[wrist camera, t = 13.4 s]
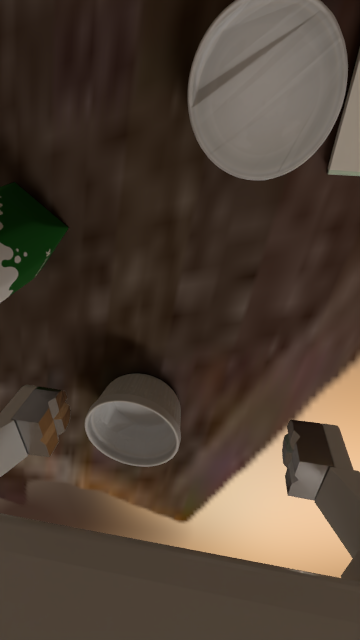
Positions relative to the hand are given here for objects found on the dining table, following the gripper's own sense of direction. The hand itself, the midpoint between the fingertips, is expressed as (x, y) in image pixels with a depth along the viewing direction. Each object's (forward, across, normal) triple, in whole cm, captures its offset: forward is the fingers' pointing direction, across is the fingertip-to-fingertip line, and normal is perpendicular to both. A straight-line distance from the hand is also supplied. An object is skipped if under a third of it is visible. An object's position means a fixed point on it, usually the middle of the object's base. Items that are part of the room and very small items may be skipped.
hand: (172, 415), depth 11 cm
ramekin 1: (+26, +9, +27) cm, 38 cm away
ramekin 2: (+26, -3, -11) cm, 28 cm away
